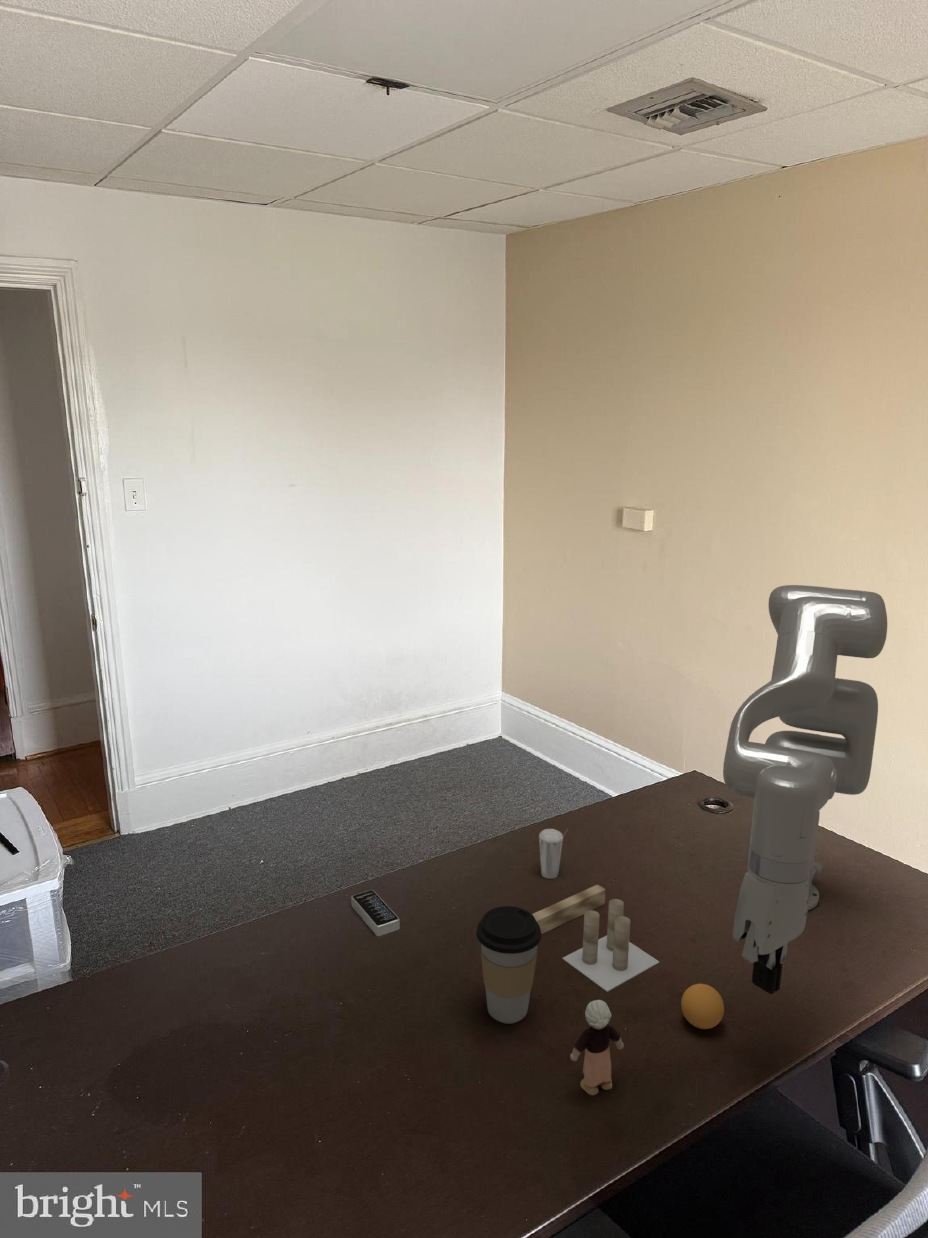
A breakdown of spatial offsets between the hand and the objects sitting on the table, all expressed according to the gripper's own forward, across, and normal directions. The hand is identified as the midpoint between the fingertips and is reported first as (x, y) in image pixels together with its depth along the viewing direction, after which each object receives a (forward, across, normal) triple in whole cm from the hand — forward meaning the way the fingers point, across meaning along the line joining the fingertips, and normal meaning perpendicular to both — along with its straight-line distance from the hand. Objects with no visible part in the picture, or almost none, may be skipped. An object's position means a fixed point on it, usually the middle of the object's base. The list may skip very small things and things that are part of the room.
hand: (765, 986), depth 114 cm
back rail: (+12, -1, -41) cm, 43 cm away
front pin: (+12, -1, -26) cm, 29 cm away
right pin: (+12, -3, -30) cm, 32 cm away
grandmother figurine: (+13, +20, -11) cm, 26 cm away
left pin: (+12, +2, -30) cm, 32 cm away
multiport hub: (+13, +24, -61) cm, 67 cm away
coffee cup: (+13, +20, -29) cm, 38 cm away
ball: (+9, 0, -10) cm, 14 cm away
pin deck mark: (+12, -1, -28) cm, 30 cm away
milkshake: (+12, -11, -53) cm, 55 cm away
